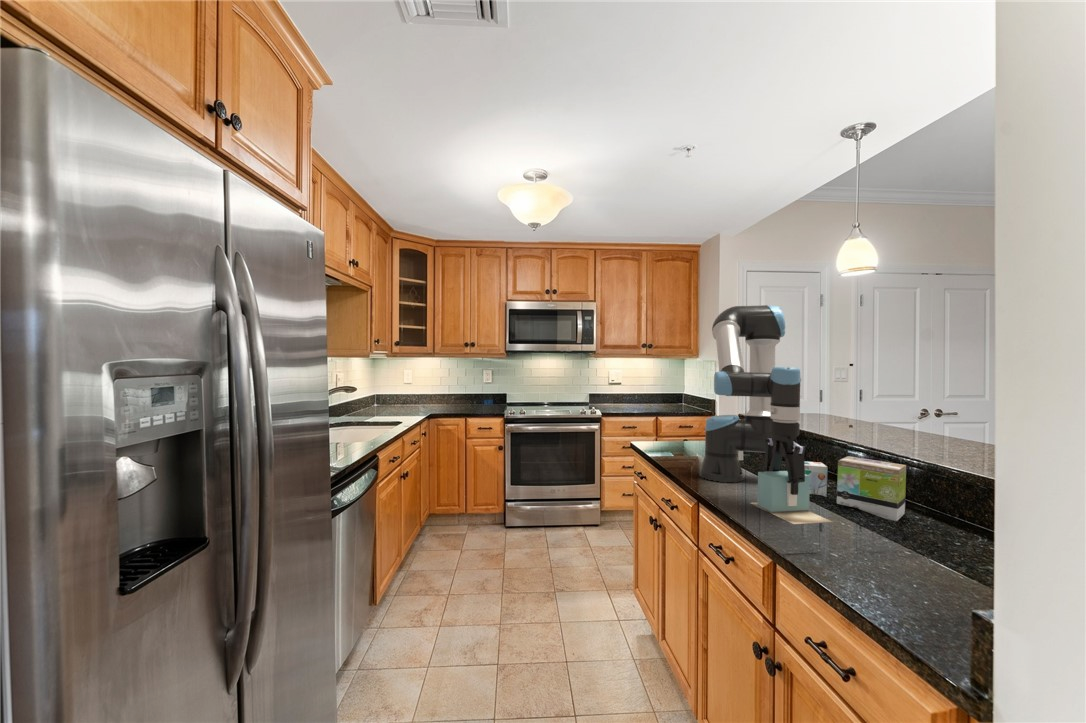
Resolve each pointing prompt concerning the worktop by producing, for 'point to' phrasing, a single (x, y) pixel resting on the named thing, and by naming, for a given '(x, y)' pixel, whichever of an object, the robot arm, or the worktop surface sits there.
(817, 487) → the light bulb box
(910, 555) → the worktop surface
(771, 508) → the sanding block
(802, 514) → the birch board
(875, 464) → the tea box
